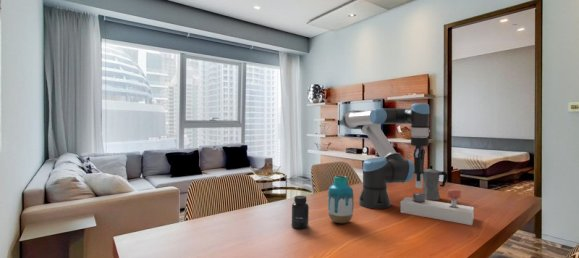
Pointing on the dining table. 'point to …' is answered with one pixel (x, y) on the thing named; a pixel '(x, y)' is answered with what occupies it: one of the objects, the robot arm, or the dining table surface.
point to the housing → (438, 210)
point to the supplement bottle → (300, 213)
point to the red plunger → (454, 196)
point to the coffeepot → (432, 183)
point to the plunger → (419, 197)
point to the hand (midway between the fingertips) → (418, 187)
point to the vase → (340, 200)
